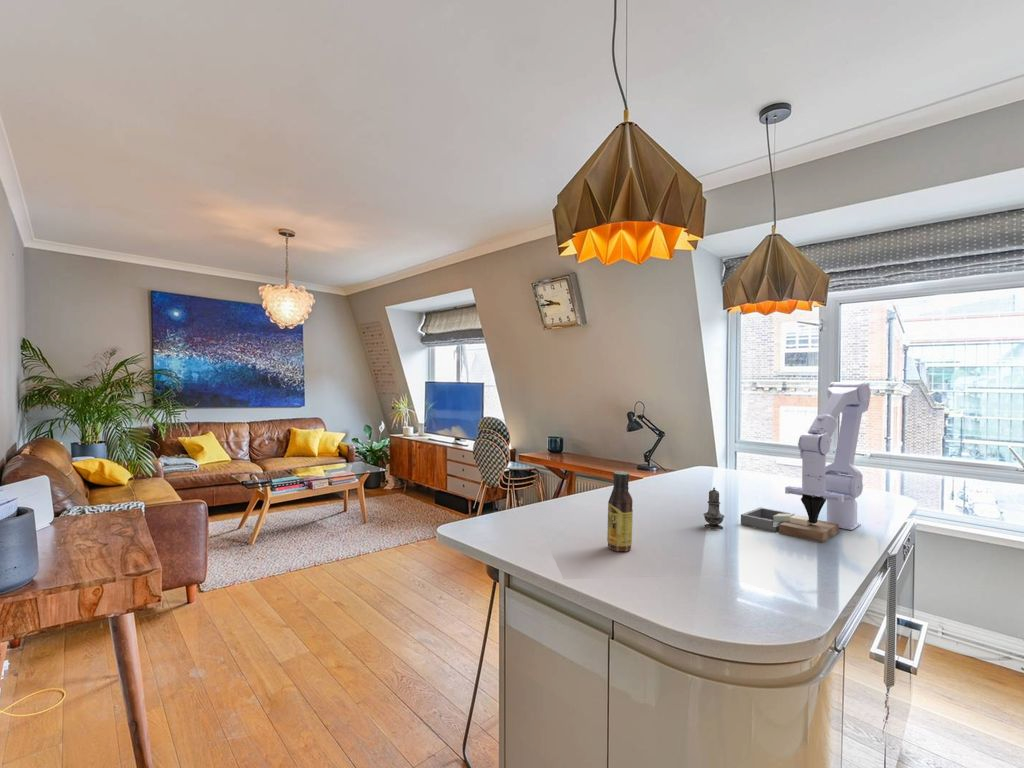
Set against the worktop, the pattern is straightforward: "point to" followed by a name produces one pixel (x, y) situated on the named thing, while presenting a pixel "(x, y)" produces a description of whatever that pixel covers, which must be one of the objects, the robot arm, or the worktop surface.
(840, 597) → the worktop surface
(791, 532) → the walnut board
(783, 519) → the sage tile
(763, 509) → the tray
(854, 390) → the robot arm
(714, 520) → the salt shaker
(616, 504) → the sauce bottle
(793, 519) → the cream tile
